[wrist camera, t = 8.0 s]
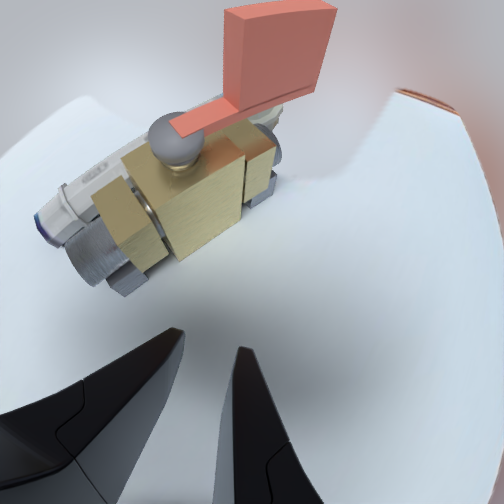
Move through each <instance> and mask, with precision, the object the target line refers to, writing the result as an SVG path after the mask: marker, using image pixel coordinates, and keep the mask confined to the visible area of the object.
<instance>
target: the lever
mask: <svg viewBox="0 0 504 504" xmlns="http://www.w3.org/2000/svg"><path fill="white" fill-rule="evenodd" d="M336 13H337V8H335V7H334V6H332V5H330V4H327V3H325V2H323V1H321V0H283V1H274V2H266V3H258V4H252V5H245V6H240V7H234V8H229V9H225V10H224V52H223V54H224V55H223V97H222V98H219V99H217V100H214V101H212V102H209V103H207V104H205V105H202V106H200V107H198V108H196V109H193V110H191V111H189V112H173V113H169V114H166V115H164V116H162V117H160V118H159V119H157V120H156V121H155V122H154V123H153V124H152V125H151V127H150V129H149V131H148V140H149V144H150V147H151V150H152V153H153V155H154V156H155V157H156V158H157V159H158V160H160V161H162V162H165V163H171V164H175V163H182V162H185V161H188V160H190V159H192V158H194V157H195V156H196V155H198V154H199V153H200V151H201V150H202V148H203V146H204V143H205V138H204V137H206V136H208V135H210V134H212V133H214V132H217V131H219V130H221V129H223V128H225V127H227V126H230V125H232V124H234V123H236V122H238V121H241V120H243V119H245V118H248V117H250V116H252V115H255V114H257V113H260V112H262V111H264V110H267V109H269V108H272V107H274V106H277V105H280V104H282V103H284V102H287V101H290V100H293V99H295V98H298V97H301V96H304V95H307V94H310V93H312V92H314V90H315V87H316V83H317V80H318V76H319V73H320V69H321V66H322V63H323V59H324V55H325V52H326V48H327V45H328V41H329V38H330V34H331V30H332V27H333V24H334V20H335V17H336Z"/></svg>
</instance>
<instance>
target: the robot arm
mask: <svg viewBox="0 0 504 504" xmlns="http://www.w3.org/2000/svg"><path fill="white" fill-rule="evenodd" d="M184 341H185V332H184V331H183V330H180V329H177V328H169V329H168V330H166V331H164V332H163V333H161V334H159V335H157V336H156V337H154V338H152V339H151V340H149V341H147V342H146V343H144V344H142V345H140V346H139V347H137V348H135V349H134V350H132V351H130V352H129V353H127V354H125V355H123V356H122V357H120V358H118V359H116V360H115V361H113V362H111V363H110V364H108V365H106V366H104V367H103V368H101V369H99V370H97V371H96V372H94V373H92V374H90V375H89V376H87V377H85V378H84V379H83V380H79V381H78V382H76V383H74V384H72V385H71V386H69V387H67V388H65V389H63V390H61V391H59V392H57V393H55V394H53V395H50V396H48V397H46V398H43V399H41V400H39V401H36V402H34V403H31V404H28V405H26V406H23V407H21V408H18V409H15V410H13V411H10V412H7V413H4V414H1V415H0V504H116V503H117V501H118V499H119V497H120V495H121V493H122V491H123V489H124V487H125V485H126V483H127V481H128V479H129V477H130V475H131V473H132V470H133V468H134V466H135V464H136V462H137V460H138V458H139V456H140V454H141V452H142V450H143V448H144V446H145V444H146V442H147V440H148V438H149V436H150V434H151V432H152V430H153V428H154V426H155V424H156V422H157V420H158V418H159V416H160V414H161V412H162V410H163V408H164V406H165V404H166V402H167V399H168V397H169V394H170V391H171V388H172V385H173V382H174V379H175V377H176V374H177V371H178V368H179V365H180V362H181V359H182V356H183V351H184ZM213 504H324V502H323V501H322V499H321V498H320V496H319V495H318V493H317V492H316V490H315V488H314V487H313V485H312V484H311V482H310V480H309V479H308V477H307V475H306V473H305V472H304V470H303V468H302V466H301V464H300V462H299V460H298V458H297V455H296V453H295V451H294V449H293V446H292V444H291V442H289V437H288V435H287V432H286V430H285V428H284V425H283V423H282V420H281V418H280V415H279V413H278V411H277V408H276V406H275V403H274V401H273V398H272V396H271V393H270V391H269V388H268V386H267V383H266V381H265V378H264V376H263V373H262V371H261V368H260V366H259V363H258V361H257V358H256V355H255V353H254V351H253V349H251V348H247V347H243V346H239V347H238V350H237V354H236V357H235V361H234V365H233V369H232V373H231V377H230V381H229V385H228V389H227V393H226V397H225V401H224V405H223V409H222V414H221V421H220V431H219V441H218V451H217V462H216V472H215V483H214V494H213Z"/></svg>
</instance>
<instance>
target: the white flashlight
mask: <svg viewBox="0 0 504 504" xmlns="http://www.w3.org/2000/svg"><path fill="white" fill-rule="evenodd" d="M222 97H223V93H222V94H220V95H218V96H216V97H213V98H211V99H209V100H207V101H205V102H203V103H201V104H199V105H197V106H195V107H193V108H191V109H189V110H187V111H185V112H189V111H191V110H193V109H196V108H198V107H200V106H202V105H205V104H207V103H209V102H212V101H214V100H217V99H219V98H222ZM282 111H283V103H282V104H280V105H277V106H274V107H272V108H269V109H267V110H264V111H262V112H260V113H257V114H255V115H252V116H250V117H248V118H247V119H248V120H249V121H250V122H251V123H252V124H256V123H260V124H263V125H265V126H266V127H268V128H269V129H270V130H271V131H272V130H273V129H274V127H275V126H276V124H277V123H278V119H279V118H278V117H279V116H280V114H281V113H282ZM148 141H149V140H148V132H146V133H145V134H143V135H141V136H140V137H138V138H136V139H135V140H133V141H131V142H130V143H128V144H127V145H125V146H123V147H122V148H120V149H119V150H117V151H116V152H114V153H113V154H111V155H110V156H108V157H107V158H105V159H104V160H102V161H101V162H99V163H98V164H96V165H95V166H93V167H92V168H91V169H89V170H88V171H86V172H85V173H84V174H82V175H81V176H79V177H78V178H77V179H75V180H74V181H73V182H71V183H70V184H69V185H67V184H66V183H64V184H63V185H61V186H60V187H59V188H58V191H59V193H58V194H57V195H55V196H54V197H53V198H52V199H51V200H50V201H49V202H48V203H47V204H46V205H44V206H43V207H42V208H41V209H40V210H39V211H38V212H37V213H36V214H35V215H34V219H35V223H36V226H37V229H38V231H39V232H40V233H41V235H42V236H43V237H44V239H45V240H46V241H47V243H49V244H51V245H53V246H54V247H56V248H59V247H60V246H61V245H62V244H63V243H65V242H66V241H67V240H68V239H69V238H70V237H71V236H73V235H74V234H75V233H76V232H77V231H79V230H80V229H81V228H82V227H86V226H87V225H89V224H90V223H91V222H92V221H91V220H92V219H93V218H94V217H95V216H97V215H98V214H99V212H98V210H97V208H96V206H95V204H94V202H93V200H92V199H91V197H90V196H91V195H93V194H94V193H95V192H97V191H98V190H100V189H101V188H103V187H104V186H106V185H107V184H108V183H110V182H111V181H113V180H114V179H116V178H117V177H119V176H121V175H122V177H123V178H124V180H125V181H126V183H127V185H128V186H129V188H130V189H131V188H133V185H132V182H131V180H130V178H129V176H128V174H127V172H126V170H125V168H124V166H123V163H122V161H121V159H120V158H121V157H123V156H124V155H126V154H128V153H129V152H131V151H133V150H134V149H136V148H138V147H139V146H141V145H143V144H144V143H146V142H148Z"/></svg>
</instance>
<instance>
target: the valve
mask: <svg viewBox="0 0 504 504" xmlns="http://www.w3.org/2000/svg"><path fill="white" fill-rule="evenodd" d="M204 138H205V143H204V146H203V148H202V150H201V151H200V153H199V154H198V155H196V156H195V157H194V158H192V159H190V160H188V161H185V162H182V163H175V164H171V163H165V162H162V161H160V160H158V159H157V158H156V157H155V156H154V155H153V153H152V150H151V147H150V144H149V141H148V142H146V143H144V144H143V145H141V146H139V147H138V148H136V149H134V150H133V151H131V152H129V153H128V154H126V155H124V156H123V157H121V158H120V159H121V161H122V163H123V166H124V168H125V170H126V172H127V174H128V176H129V178H130V180H131V182H132V185H133V187H134V189H135V191H136V192H135V193H133V192H132V191H131V189H130V188H129V186H128V185H127V183H126V181H125V180H124V178H123V177H122V175H121V176H119V177H117V178H116V179H114V180H113V181H111V182H110V183H108V184H107V185H106V186H104V187H103V188H101V189H100V190H98V191H97V192H95V193H94V194H93V195H91V196H90V197H91V199H92V200H93V202H94V204H95V206H96V208H97V210H98V212H99V214H100V217H98V218H97V219H96V220H94V221H93V222H91V223H90V224H89V225H87V226H86V227H85V228H83V229H82V230H81V231H79V232H78V233H77V234H75V235H74V236H73V237H72V238H70V239H69V240H68V241H66V242H65V249H66V252H67V254H68V257H69V259H70V261H71V262H72V264H73V266H74V267H75V269H76V270H77V272H78V273H79V274H80V276H81V277H82V278H83V279H84V280H85V281H86V282H87V283H88V284H89V285H90V286H92V287H95V286H96V285H97V284H99V283H100V282H101V281H103V280H104V279H106V281H107V282H108V284H109V286H110V288H112V289H113V290H115V291H116V292H118V293H119V294H121V295H122V296H124V297H125V296H127V295H128V294H129V293H131V292H132V291H133V290H135V289H136V288H138V287H139V286H140V285H142V284H143V283H144V282H146V281H147V280H148V278H147V276H146V275H145V273H144V271H146V270H147V269H149V268H150V267H151V266H153V265H154V264H156V263H157V262H158V261H160V260H161V259H163V258H164V257H165V256H167V255H168V254H169V253H168V251H167V249H166V247H165V246H164V244H163V242H162V240H161V238H163V239H164V241H165V242H166V244H167V245H168V247H169V248H170V249H171V251H172V252H173V254H174V255H175V256H176V258H177V259H178V261H179V262H180V261H182V260H183V259H184V258H186V257H187V256H189V255H190V254H192V253H193V252H194V251H196V250H197V249H199V248H200V247H202V246H203V245H204V244H206V243H207V242H209V241H210V240H212V239H213V238H215V237H216V236H218V235H219V234H220V233H222V232H223V231H225V230H226V229H228V228H229V227H231V226H232V225H234V224H235V223H237V222H238V221H240V218H241V205H242V202H243V203H246V205H247V206H248V207H249V208H250V209H251V208H253V207H254V206H256V205H257V204H259V203H261V202H262V201H264V200H265V199H267V198H268V197H270V196H271V195H272V194H273V190H274V186H275V182H276V177H277V174H276V173H275V172H274V171H273V170H272V167H273V166H275V165H277V164H279V162H280V161H281V158H282V152H281V148H280V145H279V143H278V140H277V138H276V137H275V135H274V134H273V133H272V131H271V130H270V129H269V128H268V127H266V126H265V125H263V124H260V123H256V124H252V123H251V122H250V121H249V120H248V119H247V118H245V119H243V120H241V121H238V122H236V123H234V124H232V125H230V126H227V127H225V128H223V129H221V130H219V131H217V132H214V133H212V134H210V135H208V136H206V137H204Z"/></svg>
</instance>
